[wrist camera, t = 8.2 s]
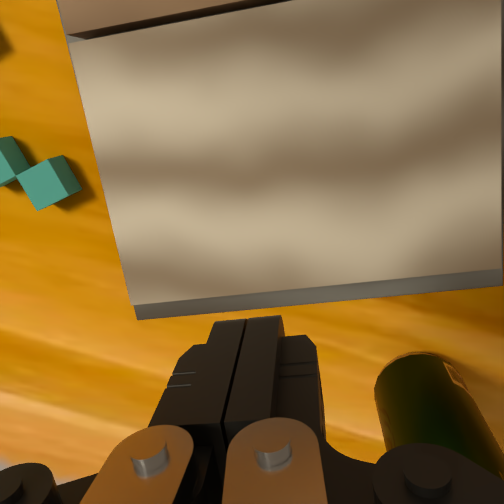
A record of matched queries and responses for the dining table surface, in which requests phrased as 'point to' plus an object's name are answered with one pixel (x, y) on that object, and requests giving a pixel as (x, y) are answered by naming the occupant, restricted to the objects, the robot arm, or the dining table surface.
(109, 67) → the beige flat slab
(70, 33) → the floor base
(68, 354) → the dining table surface
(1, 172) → the alien figure
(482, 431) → the beer can
